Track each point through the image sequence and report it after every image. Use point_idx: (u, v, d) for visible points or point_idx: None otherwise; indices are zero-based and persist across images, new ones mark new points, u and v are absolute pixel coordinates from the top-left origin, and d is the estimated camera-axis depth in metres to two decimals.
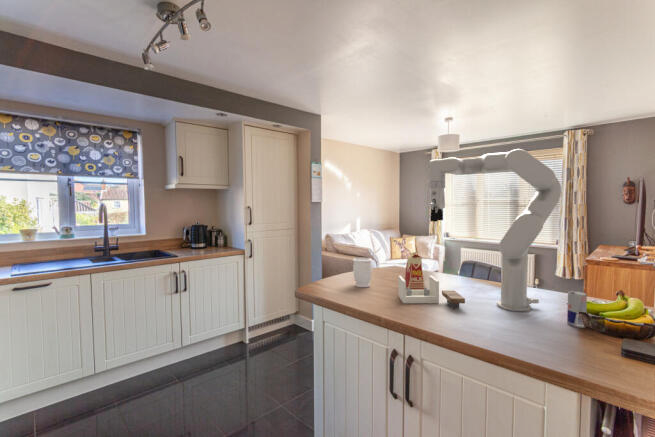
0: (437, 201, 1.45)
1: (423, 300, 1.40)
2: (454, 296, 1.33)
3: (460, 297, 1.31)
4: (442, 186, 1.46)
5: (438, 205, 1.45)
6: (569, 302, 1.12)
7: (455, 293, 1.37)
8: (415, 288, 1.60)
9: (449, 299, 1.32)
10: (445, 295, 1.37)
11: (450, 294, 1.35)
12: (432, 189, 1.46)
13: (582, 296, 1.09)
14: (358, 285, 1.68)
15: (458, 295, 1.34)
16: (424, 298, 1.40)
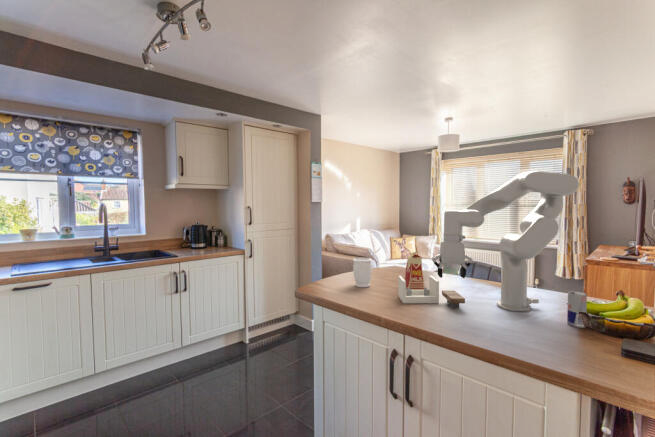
0: None
1: (423, 300, 1.40)
2: (454, 296, 1.33)
3: (460, 297, 1.31)
4: None
5: None
6: (569, 302, 1.12)
7: (455, 293, 1.37)
8: (415, 288, 1.60)
9: (449, 299, 1.32)
10: (445, 295, 1.37)
11: (450, 294, 1.35)
12: (463, 243, 1.33)
13: (582, 296, 1.09)
14: (358, 285, 1.68)
15: (458, 295, 1.34)
16: (424, 298, 1.40)
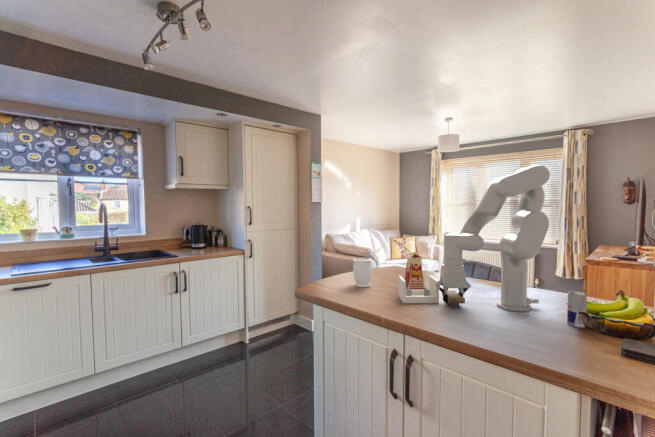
0: None
1: (423, 300, 1.40)
2: (454, 296, 1.33)
3: (460, 297, 1.31)
4: None
5: None
6: (569, 302, 1.12)
7: (455, 293, 1.37)
8: (415, 288, 1.60)
9: (449, 299, 1.32)
10: None
11: (450, 294, 1.35)
12: None
13: (582, 296, 1.09)
14: (358, 285, 1.68)
15: (458, 295, 1.34)
16: (424, 298, 1.40)
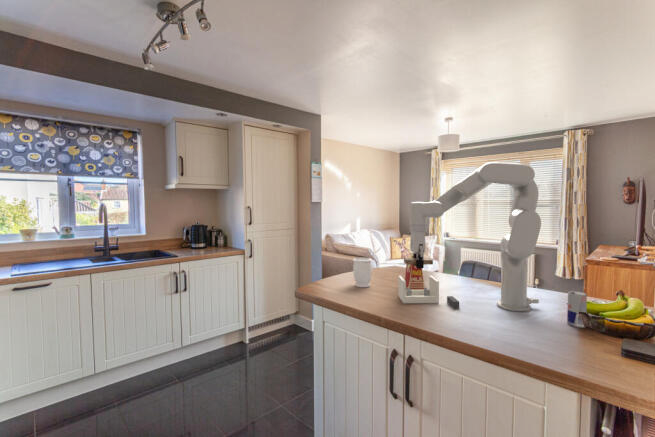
0: None
1: (423, 300, 1.40)
2: (424, 259, 1.44)
3: (426, 258, 1.46)
4: None
5: None
6: (569, 302, 1.12)
7: (414, 258, 1.46)
8: (415, 288, 1.60)
9: (427, 262, 1.41)
10: None
11: None
12: None
13: (582, 296, 1.09)
14: (358, 285, 1.68)
15: None
16: (424, 298, 1.40)
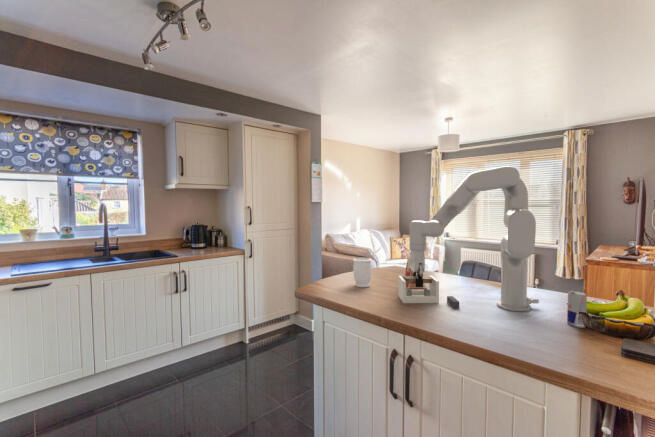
0: None
1: (423, 300, 1.40)
2: (424, 277, 1.44)
3: (426, 276, 1.46)
4: None
5: None
6: (569, 302, 1.12)
7: (413, 276, 1.47)
8: (415, 288, 1.60)
9: (427, 281, 1.42)
10: None
11: None
12: None
13: (582, 296, 1.09)
14: (358, 285, 1.68)
15: None
16: (424, 298, 1.40)
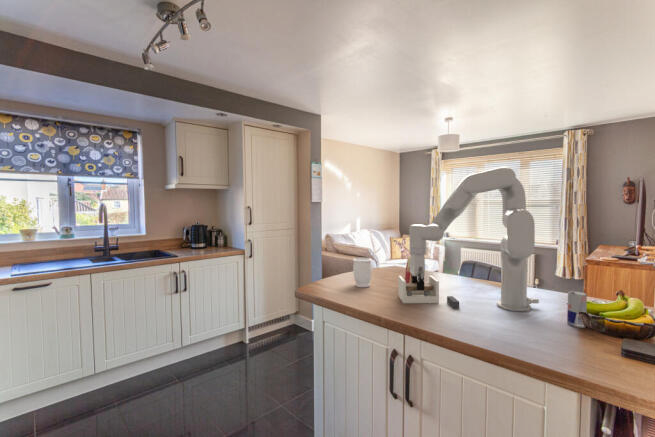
0: None
1: (423, 300, 1.40)
2: (424, 284, 1.44)
3: (426, 283, 1.46)
4: None
5: None
6: (569, 302, 1.12)
7: (414, 283, 1.47)
8: None
9: (427, 288, 1.42)
10: (416, 288, 1.42)
11: None
12: None
13: (582, 296, 1.09)
14: (358, 285, 1.68)
15: None
16: (424, 298, 1.40)
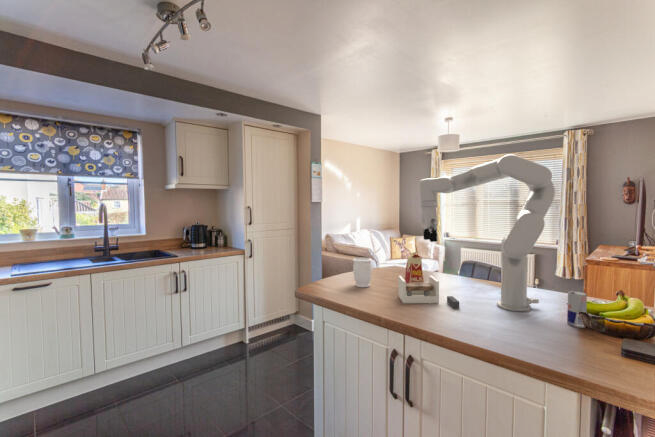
0: None
1: (423, 300, 1.40)
2: (424, 284, 1.44)
3: (426, 283, 1.46)
4: None
5: None
6: (569, 302, 1.12)
7: (414, 283, 1.47)
8: None
9: (427, 288, 1.42)
10: (416, 288, 1.42)
11: (419, 285, 1.44)
12: None
13: (582, 296, 1.09)
14: (358, 285, 1.68)
15: (420, 283, 1.47)
16: (424, 298, 1.40)
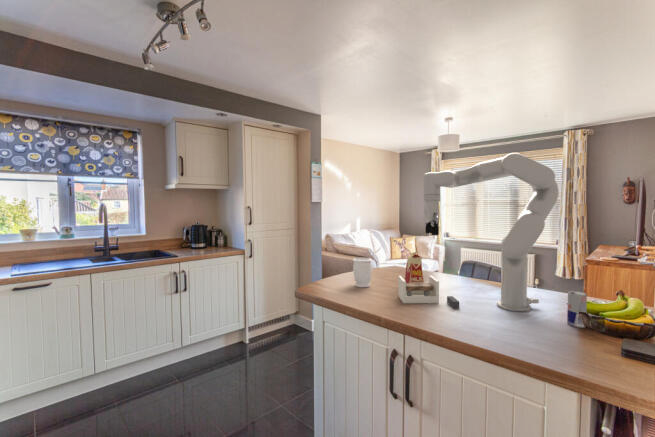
0: None
1: (423, 300, 1.40)
2: (424, 284, 1.44)
3: (426, 283, 1.46)
4: None
5: None
6: (569, 302, 1.12)
7: (414, 283, 1.47)
8: None
9: (427, 288, 1.42)
10: (416, 288, 1.42)
11: (419, 285, 1.44)
12: None
13: (582, 296, 1.09)
14: (358, 285, 1.68)
15: (420, 283, 1.47)
16: (424, 298, 1.40)
